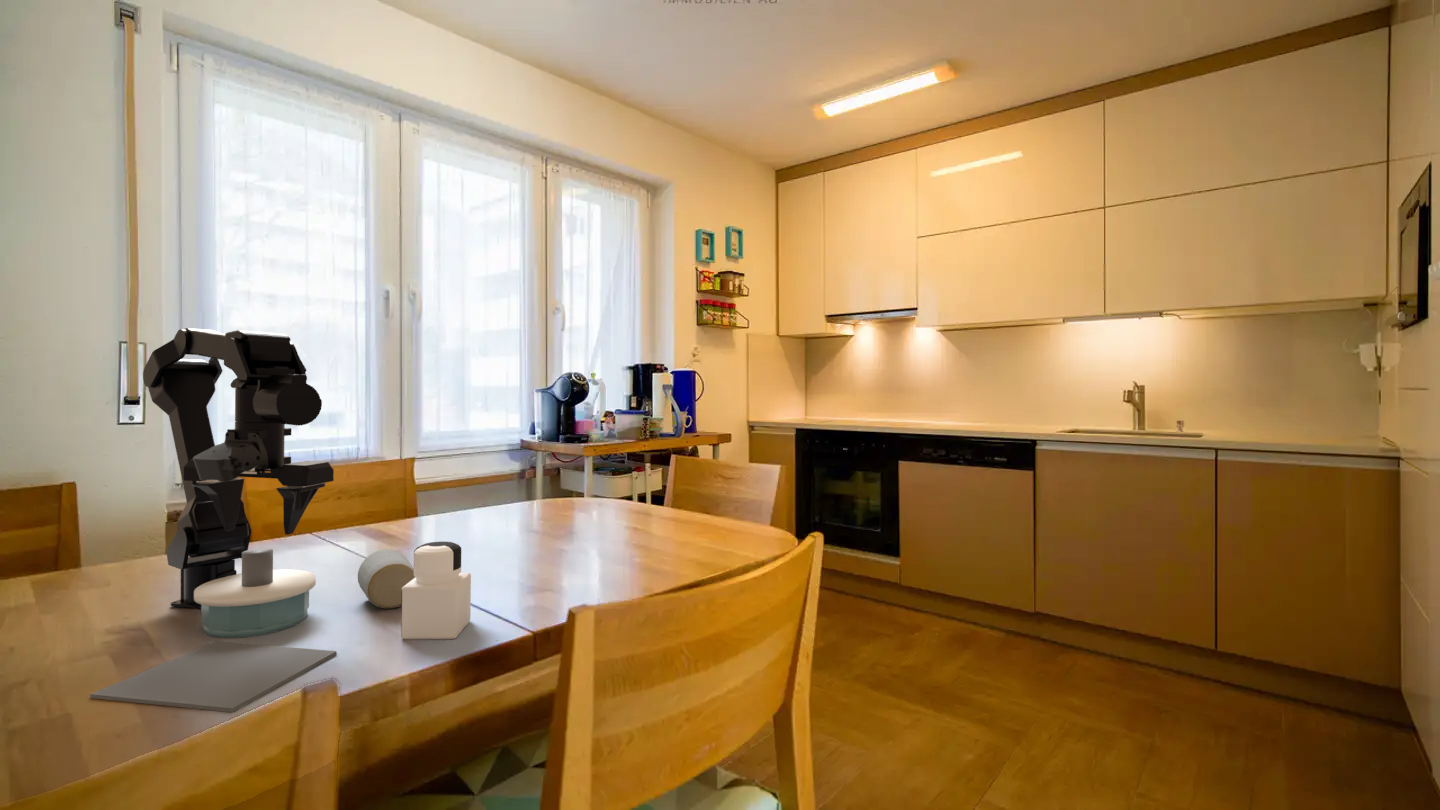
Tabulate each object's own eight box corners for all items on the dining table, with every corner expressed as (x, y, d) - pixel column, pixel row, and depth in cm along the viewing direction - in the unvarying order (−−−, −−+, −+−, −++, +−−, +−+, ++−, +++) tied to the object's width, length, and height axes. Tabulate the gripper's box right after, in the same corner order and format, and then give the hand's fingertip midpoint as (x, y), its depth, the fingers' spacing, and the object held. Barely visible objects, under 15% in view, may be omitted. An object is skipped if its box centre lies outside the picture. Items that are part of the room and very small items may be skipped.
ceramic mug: (366, 615, 97) (368, 563, 97) (356, 600, 103) (358, 551, 103) (442, 603, 103) (443, 554, 103) (428, 590, 110) (429, 544, 110)
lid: (165, 602, 87) (165, 561, 87) (254, 573, 101) (254, 537, 101) (261, 609, 85) (261, 567, 85) (338, 579, 99) (338, 542, 99)
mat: (90, 697, 70) (90, 694, 70) (216, 644, 85) (216, 641, 85) (232, 712, 68) (232, 708, 68) (336, 654, 83) (336, 651, 83)
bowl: (179, 634, 88) (179, 600, 88) (254, 605, 100) (254, 575, 100) (260, 640, 86) (260, 606, 86) (326, 610, 98) (327, 580, 98)
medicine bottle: (419, 621, 95) (420, 538, 94) (471, 620, 95) (472, 538, 95) (400, 640, 88) (401, 550, 87) (455, 639, 88) (456, 550, 88)
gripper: (144, 422, 86) (143, 541, 86) (275, 427, 83) (274, 550, 84) (219, 418, 97) (218, 524, 97) (337, 423, 94) (335, 531, 95)
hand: (259, 532), depth 93 cm, fingers open, 9 cm apart
